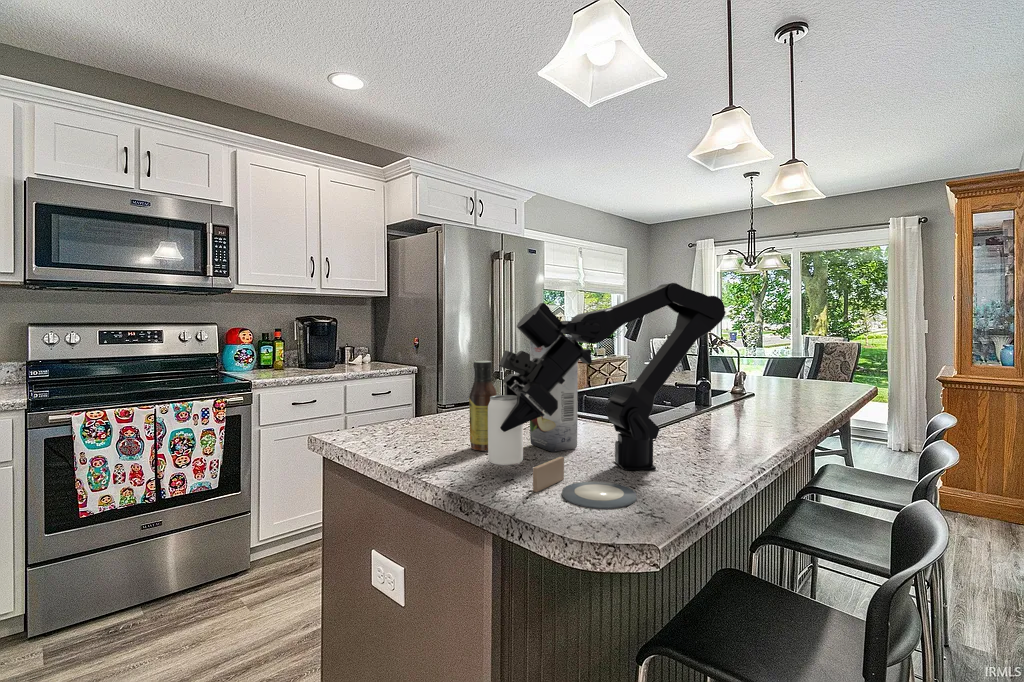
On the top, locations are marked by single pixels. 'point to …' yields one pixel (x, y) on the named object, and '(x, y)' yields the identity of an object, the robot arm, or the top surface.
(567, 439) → the juice carton
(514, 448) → the can
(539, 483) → the brown wall
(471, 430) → the sauce bottle
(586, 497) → the slate plate
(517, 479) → the top surface
